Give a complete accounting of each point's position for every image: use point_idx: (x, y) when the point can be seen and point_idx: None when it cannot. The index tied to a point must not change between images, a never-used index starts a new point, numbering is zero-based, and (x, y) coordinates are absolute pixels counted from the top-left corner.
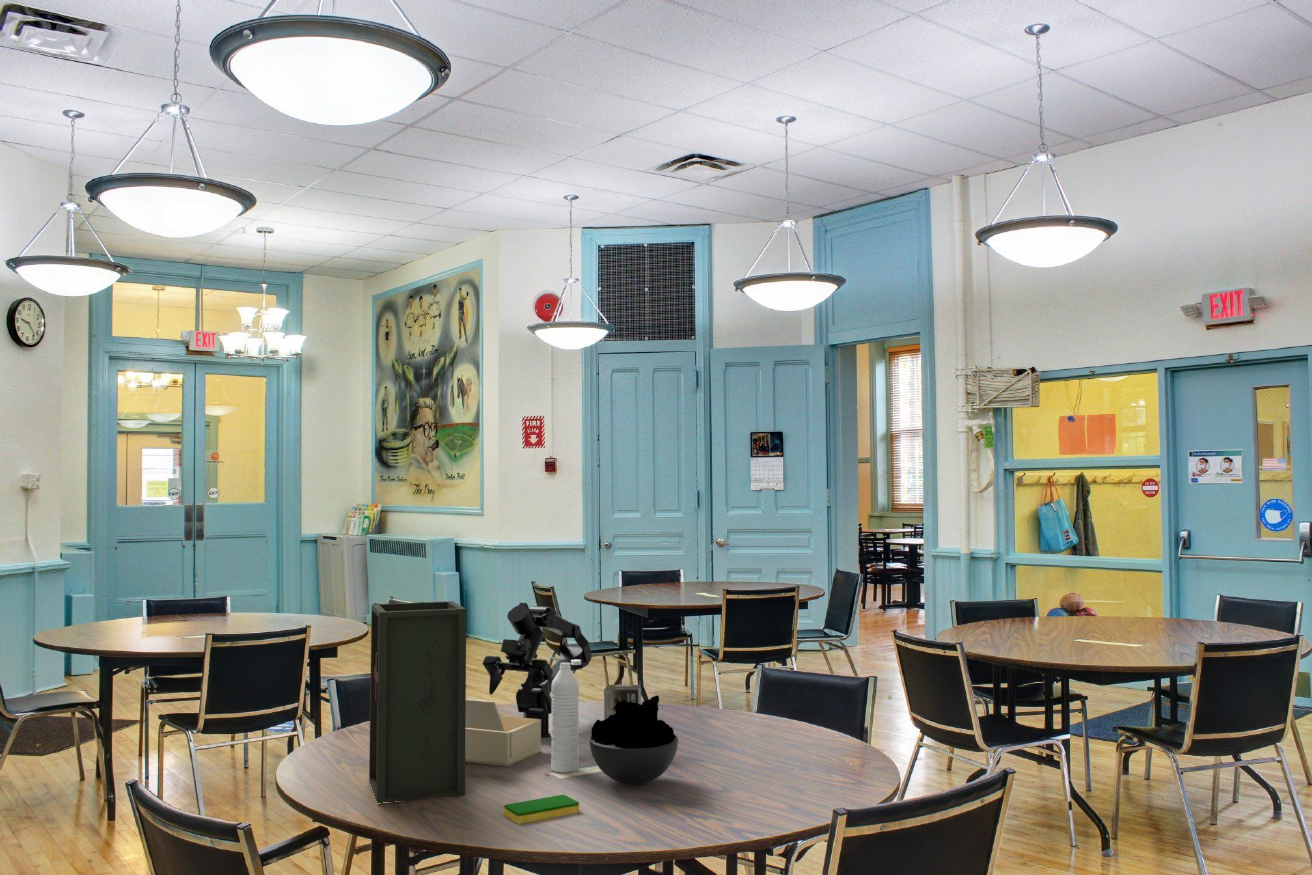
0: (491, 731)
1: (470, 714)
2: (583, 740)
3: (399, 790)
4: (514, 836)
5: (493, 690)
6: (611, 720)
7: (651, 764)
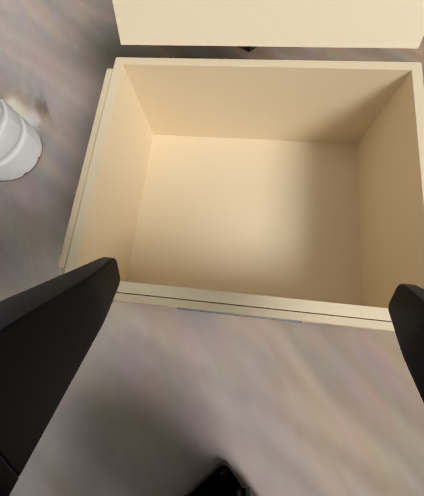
0: (180, 60)
1: None
2: (21, 489)
3: None
4: None
5: (408, 336)
6: None
7: None
